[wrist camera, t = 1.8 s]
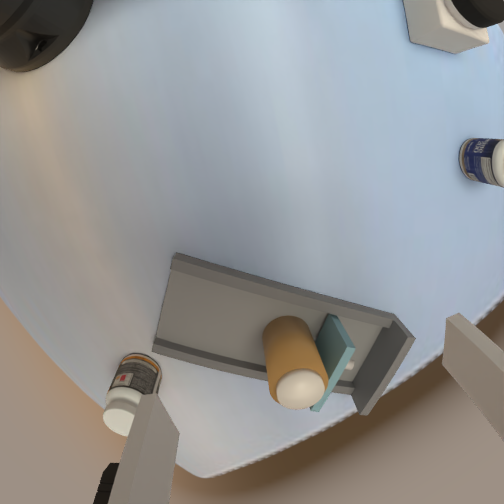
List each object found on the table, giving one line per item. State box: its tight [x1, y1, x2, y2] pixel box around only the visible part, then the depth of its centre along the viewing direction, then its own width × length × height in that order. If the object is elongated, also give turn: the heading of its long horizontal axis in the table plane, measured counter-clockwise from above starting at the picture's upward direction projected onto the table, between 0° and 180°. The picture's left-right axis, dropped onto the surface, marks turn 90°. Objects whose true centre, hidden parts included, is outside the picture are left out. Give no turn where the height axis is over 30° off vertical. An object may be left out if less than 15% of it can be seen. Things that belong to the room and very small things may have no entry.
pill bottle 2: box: [459, 138, 504, 187], centre depth 27 cm, size 5×5×10 cm
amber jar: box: [262, 315, 328, 410], centre depth 32 cm, size 6×6×10 cm
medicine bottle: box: [403, 0, 504, 54], centre depth 21 cm, size 7×7×12 cm
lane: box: [152, 252, 416, 415], centre depth 34 cm, size 27×12×6 cm, turn 72°
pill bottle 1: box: [103, 354, 162, 436], centre depth 33 cm, size 6×6×10 cm
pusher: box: [310, 314, 356, 412], centre depth 34 cm, size 4×9×7 cm, turn 162°
